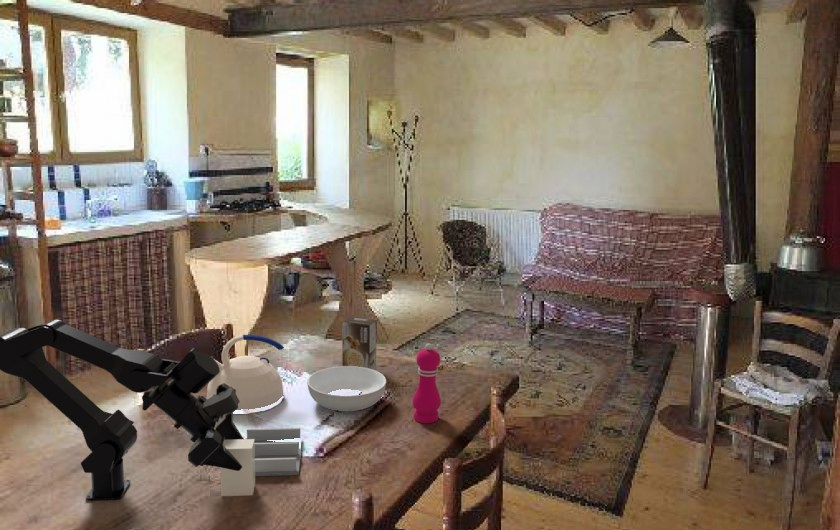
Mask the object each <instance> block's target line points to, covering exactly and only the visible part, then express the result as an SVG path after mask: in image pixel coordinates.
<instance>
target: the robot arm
mask: <svg viewBox="0 0 840 530" xmlns="http://www.w3.org/2000/svg"><path fill="white" fill-rule="evenodd" d="M47 346H48V347H50V348H53V349H55V350H58V351H60V352H62V353H65V354H66V355H69V356H71V357H74V358H76V359H78V360H81V361H83V362H86V363H88V364H90V365H93V366H95V367H97V368H99V369H102V370H104V371H105V372H107V373H109V374H110V375H111V376H112V378H114V380H115V381H116V383H118V384H120V385H122V386H123V387H125V388H127V390H130V391H131V392H133V393H137V394H138V393H139V394H140V393H141V394H142V393H143V394H142V395H141V399H142V410H143V411H147V410H148V409H150V407H151V406H152V405H154V406H155V407H157V408H158V409H159V410H160V411H161V412H163V413H164V415H166V416H167V417H169V418H170V419H171V420H172V421H174V424H173V427H174V428H175V429H177V430H179V428H182V429H184V430H185V431H186V433H188V434H190V436H191V437H190V439H189V440H190V441H191V442H192V443H193V444H192V445H191V446H190V449H189V451H188V454H187V461H188V462H189V463H190V464H192V466H193V467H195V468H198V467H199V466H200V467H203V466H209V467H217V468H220V469H221V468H226V469H230V470H235V471H239V470H240V469H241V468H242V465H241V464H240V463H239V462H238V461H237V459H236V458H235V457H234V456H233V455H232V454H231V453H230V452H229V451H228V450H227V449H226V447H225V440H233V439H245V438H244V437H243V436H242V434H241V432H240V431H239V429H238V427H237V426H236V425H235V422H234V419H233V418H234V417H233V415H234V414H233V412H234V411H235V410H237V408H238V403H239V402H240V401H239V399H238V397H237V395H236V390H235V389H233V388H232V386H231V387H229V386H228V385H226V384H225V383H223V384H221V385H218V387H217V389H216V395H215V394H214V395H213V396H212V397H211V398H209V399H207V397H206V398H205V396H203V395H199V394H198V393H200V391H201V390H203V389H204V388H205V387H206V386H208V384H209V382H210V381H211V380H212V379H213V378H214V377H215V376H216V375H218V374H219V372H220V369H219V366H218V364H217V363H216V361H217V360H216V359H215V358H213V356H211V355H209V354H207V353H205V352H202V351H198V350H197V349H196V348H194V347H192V349H190V350H189V352H187V353H186V354H185V355H184V357H183V359H181V360H180V361H176V360H172V359H165V358H162V357H160V356H159V355H157V354H155V353H151V352H147V351H143V350H139V349H126V348H123V347H118V346H116V345H115V344H112V343H111V342H109V341H108V342H107V341H105V340H103V339H100V338H98V337H96V336H93V335H92V334H88V333H87V332H84V331H82V330H80V329H78V328H75V327H73V326H71V325H68V324H66V322H65V321H63V320H60V319H52V320H49V321H47V322H46V323H42V324H39V325H36V326H35V325H34V326H32V327H29V328H24V327H14V328H11V329H9V330H6V331H5V332H3V333H1V334H0V371H1V372H2V373H4V374H6V375H10V376H13V377H17V378H21V379H22V380H25V381H26V382H27V384H29V385H30V386H31V387H32V388H33V389H35V390H36V391H37V392H38V393H39V394H40V395H42V396H43V397H44V399H45V400H47V401H48V402H49V403H50V404H51V405H53V406H54V407H55V408H56V409H57V410H58V411H59V412H60V413H62V415H64V416H65V417H66V418H67V419H68V420H70V422H71V423H73V424H74V425H75V426H77V428H78V429H80V431H81V432H82V435H83V438H84V441H85V444H86V447H87V448H88V449H89V450H90V453H89V454H88V455H87V456H86V457H85V458H84V459H83V460H82V461H81V462H80V465H81V468H82V469H83V472H84V473H85V474H86V473H87V474H90V475H91V489H90V490H89V492H88V493H87V494H86V495H85V501H97V500H120V499H122V497H123V496H124V495H125V493H126V491H127V490H128V487H129V486H130V484H131V479H125V471H124V468H125V467H124V458H123V457H124V456H125V455H127V453H128V452H129V451H130V450H131V448H132V447H133V446H134V445H135V444H136V442H137V439H138V430H137V428H136V427H135V425H134V424H135V421H133V420H131V419H129V418H127V416H126V415H125V414H124V412H123V411H121V410H119V409H116V410H115V411H114V412H113V413H111V412H107V411H104V410H102V409H101V408H100V407H99V406H98V405H97V404H96V403H94V401H92V400H91V399H90V398H89V397H88V396H86V394H85V393H83V392H82V391H81V390H80V389H79V388H78V387H77V386H76V385H74V384H73V382H71V381H70V380H69V379H68V378H67V377H66V376H65V375H64V374H62V372H60V371H59V370H58V369H57V368H56V367H55V366H53V365H52V364H51V362H49V361H48V360H47V357H46V355H45V352H44V349H43V347H47ZM214 359H215V360H216V361H215V360H214ZM170 378H171V380H169V379H170ZM167 380H169V381H167ZM151 388H154V389H153V390H152V391H149V390H151ZM194 394H198V396H195V395H194Z"/></svg>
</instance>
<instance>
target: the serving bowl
mask: <svg viewBox="0 0 840 530" xmlns="http://www.w3.org/2000/svg"><path fill="white" fill-rule="evenodd" d="M306 383H307V389H308V392H309V395H310V396H311V398H312V399H313V400H314V402H316V403H317V404H318V405H320V406H322V407H323V408H326V409H329V410H332V409H333V411H337V410H338V411H340V412H353V411H354V410H356V411H360V409H361V410H364V408H365V409H368V408H370V407H371V406H373V405H375V404H376V403H377V402H379V400H380V399H381V398H382V397H383V395H384V393H385V391H386V386H387V378H386V377H385V376H384V374H383V373H382V372H379V371H378V370H376V371H375V370H372V369H369V368H364V367H356V366H342V365H340V366H332V367H327V368H323V369H320V370H317V371H315V372H313V373H312V374H310V376H308V379H307V382H306ZM339 389H340V390H341V389H351V390H359V391H361V392H362V393H364V394H361V395H352V396H340V395H331V394H328V393H330V392H332V391H336V390H339ZM338 411H337V412H338ZM354 412H355V411H354Z"/></svg>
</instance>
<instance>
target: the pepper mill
mask: <svg viewBox="0 0 840 530" xmlns="http://www.w3.org/2000/svg"><path fill="white" fill-rule="evenodd" d="M416 364H417V365H418V367H417V370H418V371H417V374H418V376H419V379H418V380H419V381H418V382H419V383H418V385H417V389H416V390H415V392H414V393H413V397H412V406H413V408H414V411H413V419H414V420H415V421H416V422H417V423H421V424H433V423H435V422H437V421H438V419H439V409H440V407H441V404H442V401H441V396H440V392H439V390H438V387H437V382H436V378H437V375H438V373H439V372H438V371H439V369H438V366H439V365H440V364H441V356H440V353H439V352H438V351H437V350H436V349H433V345H432V344H431V343H429V342H428V343H426V344H425V348H424V349H421V350H420V351H418V352H417V355H416Z"/></svg>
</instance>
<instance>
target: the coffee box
mask: <svg viewBox="0 0 840 530" xmlns="http://www.w3.org/2000/svg"><path fill="white" fill-rule="evenodd" d="M377 324H378V320H377V319H370V318H363V317H354V316H349V317H347V318H346V319H344V320H343V322H342V329H341V330H342V336H341V337H342V341H341V342H342V343H341V344H342V348H341V349H342V355H341V356H342V358H341V359H342V364H341V366H356V367H364V368H369V369H372V370H375V371H377Z"/></svg>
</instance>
